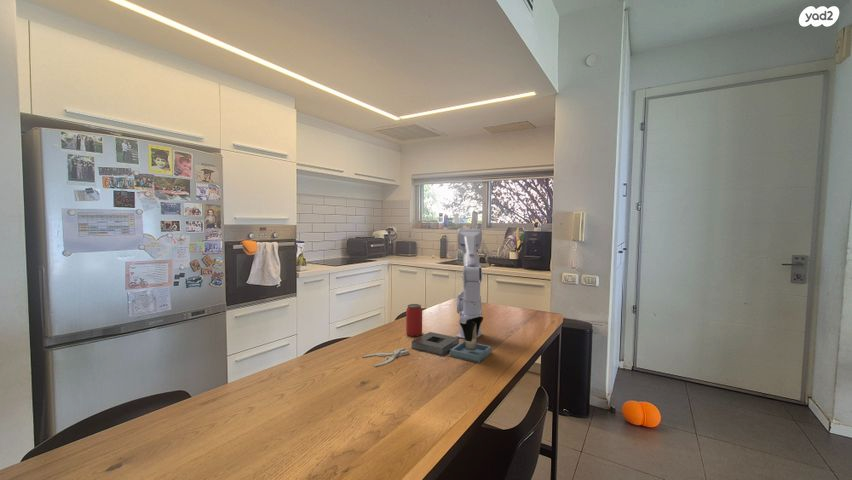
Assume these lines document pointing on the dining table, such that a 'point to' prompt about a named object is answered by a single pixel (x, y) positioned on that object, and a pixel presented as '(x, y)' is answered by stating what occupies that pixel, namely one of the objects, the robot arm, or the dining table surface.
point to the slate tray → (471, 352)
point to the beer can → (414, 320)
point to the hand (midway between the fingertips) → (471, 338)
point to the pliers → (395, 353)
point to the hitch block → (435, 343)
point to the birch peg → (472, 344)
